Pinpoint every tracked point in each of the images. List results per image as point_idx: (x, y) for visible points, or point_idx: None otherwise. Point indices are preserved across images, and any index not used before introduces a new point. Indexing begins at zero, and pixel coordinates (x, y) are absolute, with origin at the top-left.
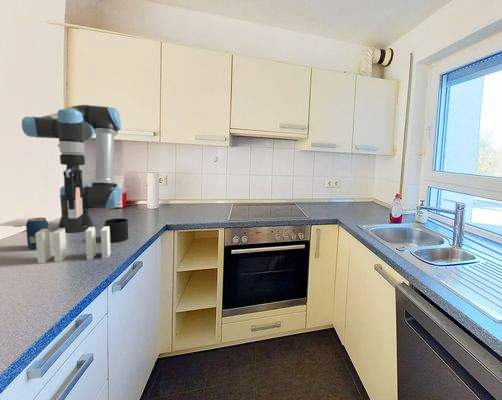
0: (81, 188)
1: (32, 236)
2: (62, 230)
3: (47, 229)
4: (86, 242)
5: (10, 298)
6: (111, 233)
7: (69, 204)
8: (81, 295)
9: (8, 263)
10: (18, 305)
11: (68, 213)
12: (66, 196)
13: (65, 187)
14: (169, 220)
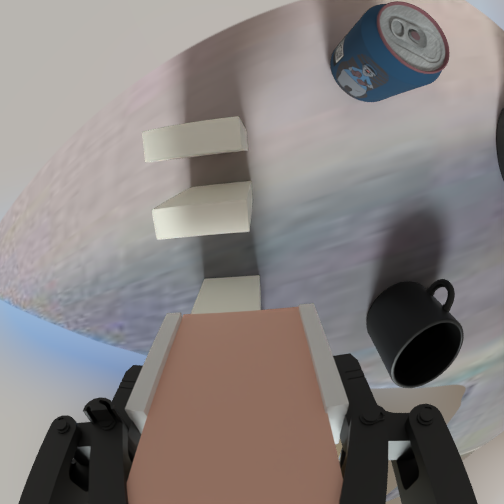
0: (402, 500)
1: (343, 47)
2: (206, 234)
3: (222, 149)
4: (192, 312)
5: (22, 202)
6: (381, 327)
7: (118, 396)
8: (43, 314)
9: (199, 51)
10: (10, 230)
11: (159, 333)
12: (57, 439)
13: (26, 499)
14: (495, 379)
